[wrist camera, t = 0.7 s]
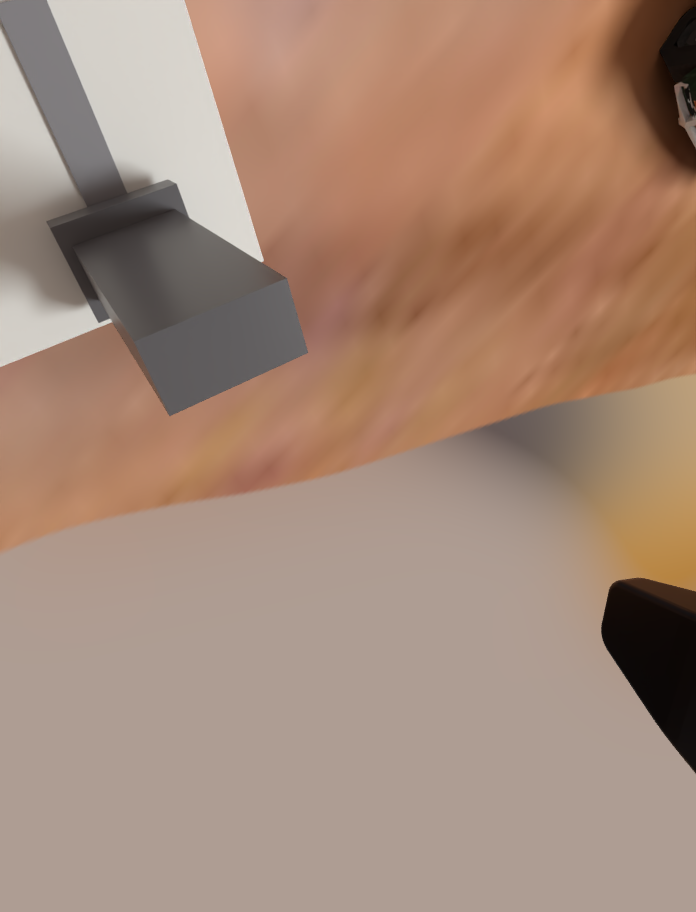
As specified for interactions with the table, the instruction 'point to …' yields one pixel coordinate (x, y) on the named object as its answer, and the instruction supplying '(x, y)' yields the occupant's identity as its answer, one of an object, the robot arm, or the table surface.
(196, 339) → the on breaker
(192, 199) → the breaker panel
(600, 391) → the table surface
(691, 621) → the robot arm
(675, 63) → the miniature car
